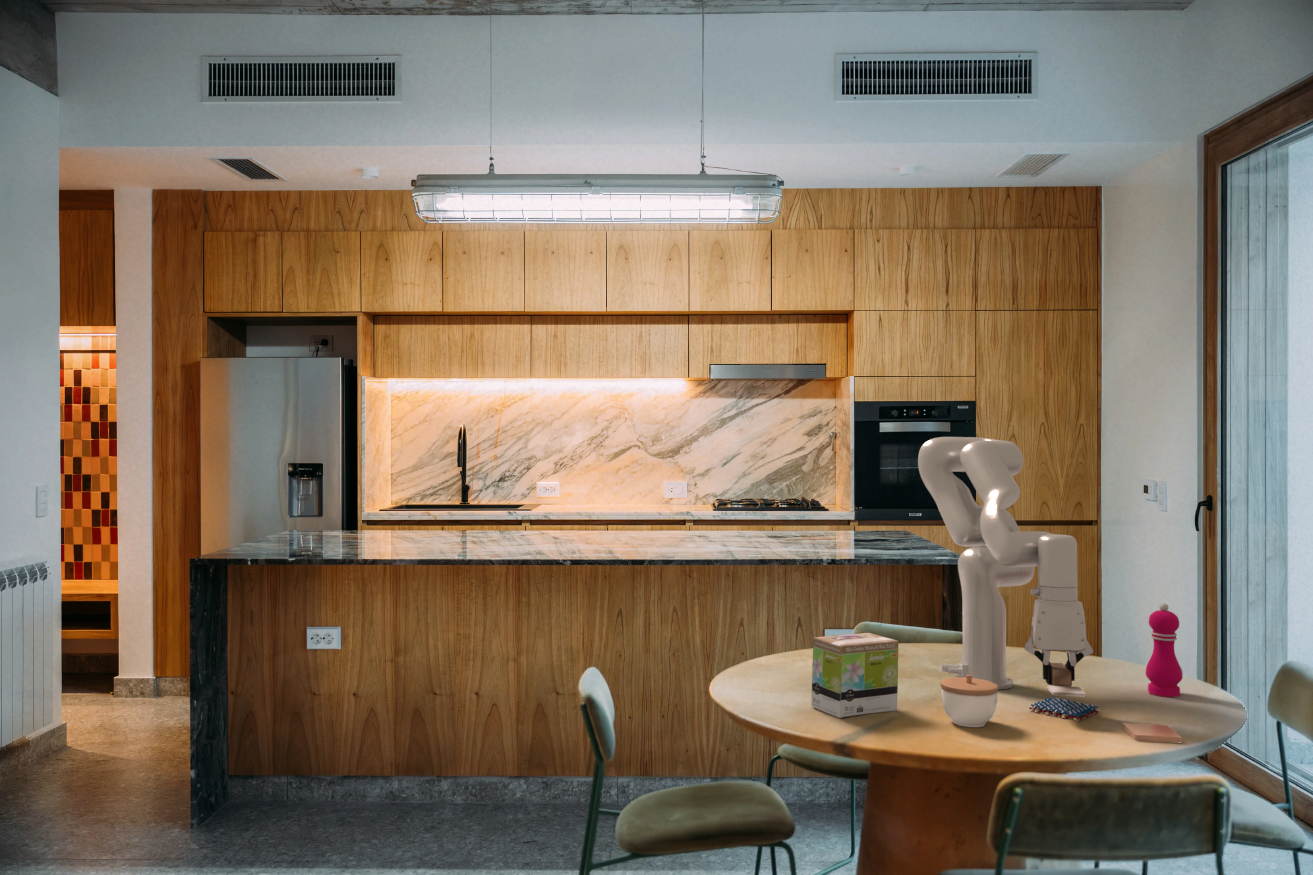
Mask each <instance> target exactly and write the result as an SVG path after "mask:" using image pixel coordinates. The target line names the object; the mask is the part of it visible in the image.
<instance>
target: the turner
mask: <svg viewBox="0 0 1313 875" xmlns="http://www.w3.org/2000/svg"><path fill="white" fill-rule="evenodd" d="M1050 665H1051V666H1052V684H1051V685H1048V684H1047V685H1046V689H1047V690H1048V691H1049V692H1050V693H1051V695H1052V696H1062V697H1064V696H1065V697H1066V696H1067V697H1086V695H1087V694H1086V692H1085V691H1084V690H1083V689H1081V688H1080V686H1071V671H1070V670H1069V669H1067V668H1066V667H1065V664H1063V663H1062V662H1050Z"/></svg>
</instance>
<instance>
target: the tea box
mask: <svg viewBox="0 0 1313 875" xmlns="http://www.w3.org/2000/svg"><path fill="white" fill-rule="evenodd" d="M812 640H813V642H812V667H811V668H812V669H811V671H812V672H811V704H810V705H811V707H812V708H814V709H815V710H816V709H817V710H819V711H821V712H823V713H826V714H828V715H830V716H833V717H835V718H838V719H842V718H843V719H844V718H845V717H846V718H847V717H853V716H861V715H868V714H875V713H884V712H886V713H887V712H896V711H897V710H898V690H899V689H898V684H899V640H897V639H893V638H889V637H885V636H882V635H879V634H875V633H871V632H864V633H863V632H861V633H850V634H848V633H847V634H840V635H839V634H838V635H827V636H816V637H813V638H812Z"/></svg>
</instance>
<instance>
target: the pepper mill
mask: <svg viewBox="0 0 1313 875" xmlns="http://www.w3.org/2000/svg"><path fill="white" fill-rule="evenodd" d="M1158 607H1159V610H1155V611H1153V612H1152V613H1151V614H1150V615H1149V617H1148V625H1149V627H1150V628H1151V629H1152V631H1151V632H1150V633H1151V639H1153V650H1152V654H1151V656H1150V658H1149V660H1148V661H1147V664H1146V668H1145V676H1146V677H1147V679H1148V680H1149V681H1150V682H1149V683H1148V684H1147V692H1148V693H1149V694H1150V695H1153V696H1157V697H1163V698H1178V697H1180V696H1181V688H1180V686H1178V684H1179V683H1181V681H1182V680H1183V677H1184V676H1183V670H1182V667H1181V665H1180V663H1179V661H1178V659H1177V657H1176V653H1175V641H1177V636H1178V635H1177V632H1176V631H1178V629H1179V628H1180V620H1179V618H1178V616H1177V614H1176V613H1174V612H1172V611H1170V610H1169V605H1168V604H1167V603H1161V604H1159V606H1158Z"/></svg>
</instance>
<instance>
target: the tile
mask: <svg viewBox="0 0 1313 875" xmlns="http://www.w3.org/2000/svg"><path fill="white" fill-rule="evenodd" d="M1122 730H1124V731H1125V733H1126V734H1127V735H1128V736H1130V737H1131V739H1133V740H1134V741H1135V740H1137V741H1136V742H1148V741H1150V743H1151V742H1152V743H1164V742H1182V743H1183V737H1182V736H1181V735H1179V734H1178V733H1177V732H1176V731H1175V730H1174V729H1172V728H1171V727H1170V726H1169V725H1167V724H1165V725H1164V724H1149V723H1147V724H1146V723H1130V722H1122Z"/></svg>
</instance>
